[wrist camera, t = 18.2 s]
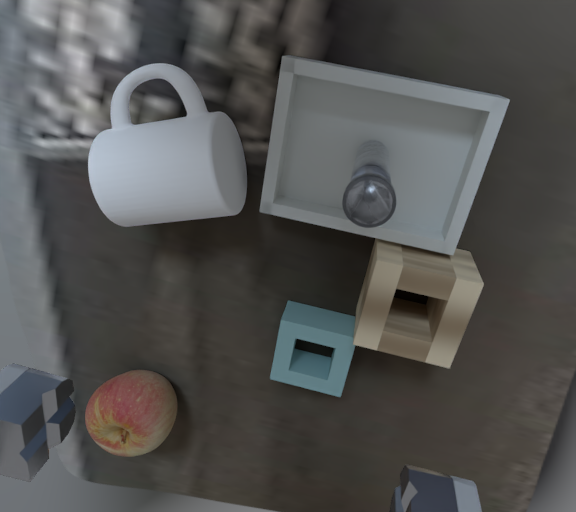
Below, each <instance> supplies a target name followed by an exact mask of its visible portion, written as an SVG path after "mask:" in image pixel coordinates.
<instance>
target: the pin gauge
mask: <svg viewBox="0 0 576 512" xmlns="http://www.w3.org/2000/svg"><path fill="white" fill-rule="evenodd" d="M342 205H343V210H344V213H345V214H346V216H347V218H348V219H349V220H350V221H351V222H353V223H354V224H356V225H358V226H361V227H365V228H373V227H377V226H380V225H382V224H384V223H385V222H387V221H388V220H389V219H390V218H391V216H392V215H393V213H394V211H395V208H396V194H395V190H394V187H393V186H392V184H391V174H390V161H389V152H388V149H387V147H386V146H385V145H384V144H383V143H382V142H380V141H377V140H369V141H366V142H364V143H363V144H362V145H361V146H360V147H359V148H358V150H357V153H356V157H355V162H354V166H353V171H352V175H351V180H350V182H349V184H348V185H347V187H346V189H345V191H344V195H343V200H342Z"/></svg>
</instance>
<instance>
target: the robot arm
mask: <svg viewBox="0 0 576 512" xmlns="http://www.w3.org/2000/svg"><path fill="white" fill-rule="evenodd" d="M73 392H74V387H73V380H70V379H68V378H65V377H61V376H58V375H54V374H51V373H47V372H44V371H40V370H37V369H33V368H29V367H25V366H22V365H18V364H14V363H13V364H11V365H8V366H6V367H5V368H3V369H2V370H1V371H0V475H3V476H8V477H12V478H15V479H20V480H24V481H27V482H31V480H32V479H33V478H34V477H35V475H36V474H37V472H38V471H39V470H40V469H41V468H42V467H43V465H44V464H45V463H46V462H47V460H48V459H49V449H50V448H52V447H54V446H56V445H58V444H60V443H62V441H63V440H64V439H65V437H66V436H67V435H68V433H69V431H70V429H71V427H72V425H73V422H74V419H75V413H76V409H75V404H74V402H73V401H72V400H71V398H70V397H69V396H70V395H71V394H72V393H73ZM400 484H401V486H399V487H397V488H395V490H394V493H393V496H392V500H391V505H390V510H389V512H482V510H481V505H480V501H479V496H478V491H477V487H476V485H475V483H474V482H473V481H471V480H467V479H463V478H459V477H455V476H449V475H447V474H443V473H439V472H435V471H431V470H427V469H423V468H419V467H415V466H410V465H405V466H404V467H403V469H402V472H401V474H400Z"/></svg>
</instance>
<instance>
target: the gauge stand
mask: <svg viewBox="0 0 576 512" xmlns="http://www.w3.org/2000/svg"><path fill="white" fill-rule="evenodd" d="M354 328H355V316H351V315H347V314H343V313H339V312H335V311H330V310H326V309H322V308H318V307H314V306H310V305H306V304H301V303H297V302H293V301H289V300H288V302H287V305H286V307H285V310H284V313H283V316H282V318H281V323H280V328H279V333H278V338H277V344H276V349H275V354H274V359H273V364H272V370H271V375H270V379H272V380H275V381H279V382H283V383H287V384H291V385H295V386H299V387H302V388H306V389H310V390H314V391H318V392H322V393H326V394H329V395H333V396H337V397H341V394H342V391H343V387H344V384H345V380H346V377H347V373H348V370H349V366H350V363H351V359H352V356H353V352H354V349H355V345H353V338H354ZM297 339H301V340H305V341H309V342H313V343H317V344H321V345H325V346H329V347H333V348H334V349H333V353H332V357H331V358H330V357H326V356H322V355H318V354H314V353H310V352H306V351H302V350H298V349H295V345H296V340H297Z"/></svg>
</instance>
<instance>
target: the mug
mask: <svg viewBox="0 0 576 512" xmlns="http://www.w3.org/2000/svg"><path fill="white" fill-rule="evenodd" d="M157 78H160V79H164V80H166V81H168V82H169V83H170V84H172V85H173V87H174V88H175V89H176V90H177V92H178V93H179V95H180V97H181V99H182V101H183V103H184V106H185V109H186V111H187V116H186V117H181V118H175V119H169V120H162V121H156V122H150V123H144V124H138V125H133V124H132V123H131V118H130V112H129V101H130V96H131V93H132V91H133V90H134V89H135V88H136V87H137V86H138V85H139V84H141V83H143V82H145V81H148V80H151V79H157ZM111 123H112V129H108V130H104V131H102V132H101V133H99V134H98V135H97V136H96V138H95V139H94V141H93V143H92V145H91V148H90V152H89V158H88V172H89V180H90V184H91V188H92V192H93V194H94V197H95V199H96V201H97V203H98V205H99V207H100V209H101V210H102V212H103V213H104V214H105V215H106V216H107V217H108V218H109V219H110V220H111V221H112V222H114V223H115V224H117V225H119V226H124V227H130V226H139V225H148V224H158V223H167V222H177V221H186V220H195V219H205V218H214V217H224V216H233V215H237V214H238V213H240V211H241V210H242V208H243V206H244V204H245V200H246V194H247V170H246V162H245V156H244V151H243V147H242V143H241V140H240V137H239V134H238V132H237V129H236V127H235V125H234V123H233V122H232V120H231V119H230V118H229V116H228V115H227V114H225V113H223V112H220V111H218V112H208V111H207V108H206V105H205V102H204V99H203V97H202V94H201V92H200V90H199V88H198V86H197V85H196V83H195V82H194V80H193V79H192V78H191V77H190V76H189V75H188V74H187V73H186V72H185V71H184V70H182V69H180V68H179V67H176V66H174V65H170V64H165V63H156V64H150V65H146V66H143V67H140V68H138V69H136V70H134V71H132V72H131V73H130V74H128V75H127V76H126V77H125V78H124V79H123V80H122V81H121V82H120V83H119V85H118V86H117V88H116V90H115V92H114V94H113V97H112V101H111Z"/></svg>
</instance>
